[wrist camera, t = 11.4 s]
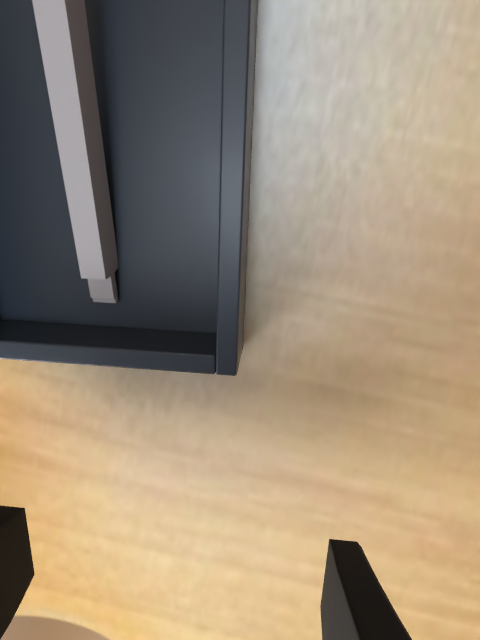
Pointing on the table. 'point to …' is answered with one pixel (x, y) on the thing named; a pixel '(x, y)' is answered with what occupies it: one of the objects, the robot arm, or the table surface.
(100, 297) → the caliper
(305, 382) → the table surface
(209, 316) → the tray
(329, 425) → the table surface
